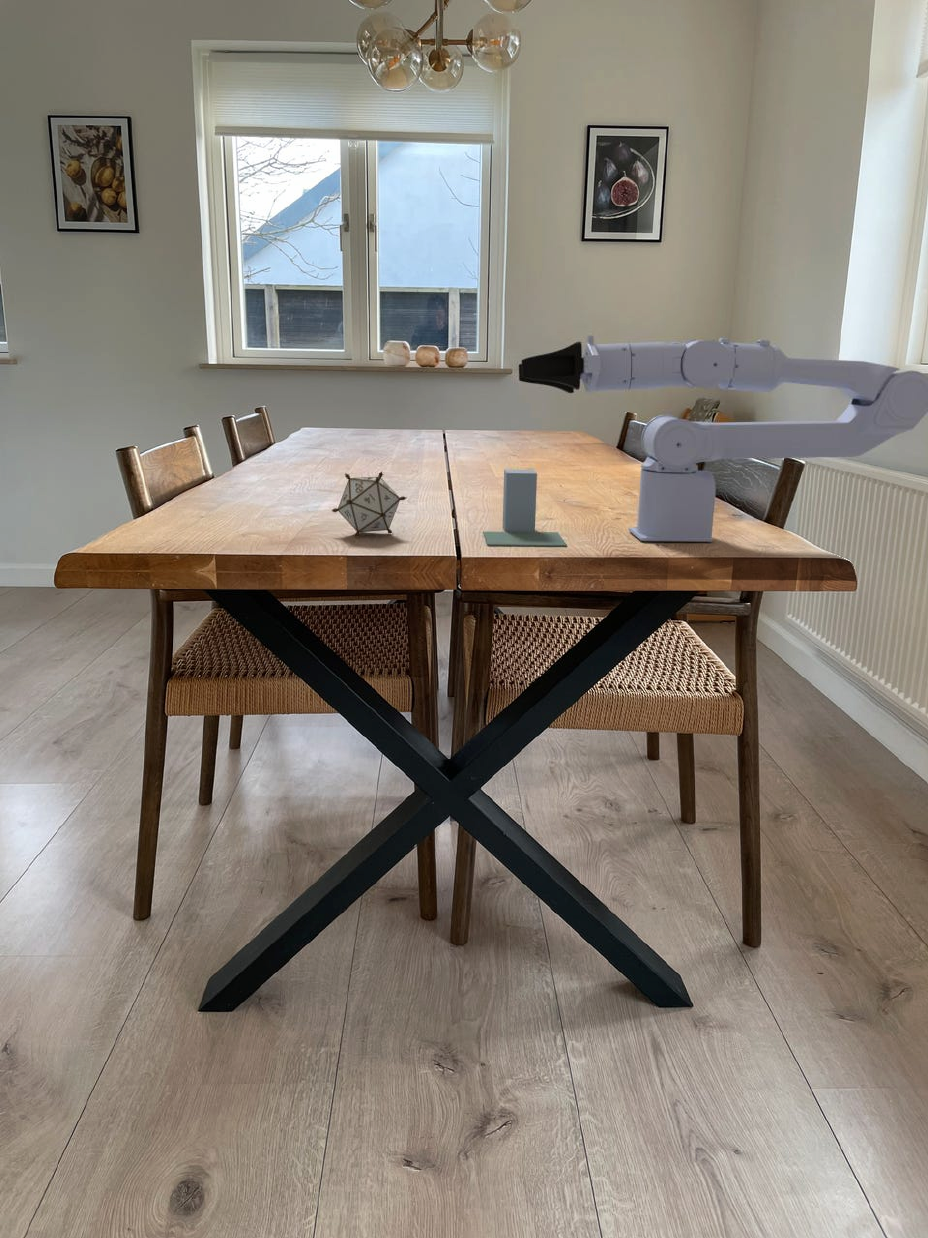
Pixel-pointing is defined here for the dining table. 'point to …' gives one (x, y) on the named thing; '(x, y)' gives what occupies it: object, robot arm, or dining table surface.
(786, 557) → the dining table surface
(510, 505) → the slate-blue block
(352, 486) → the game die
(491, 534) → the felt mat
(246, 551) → the dining table surface
